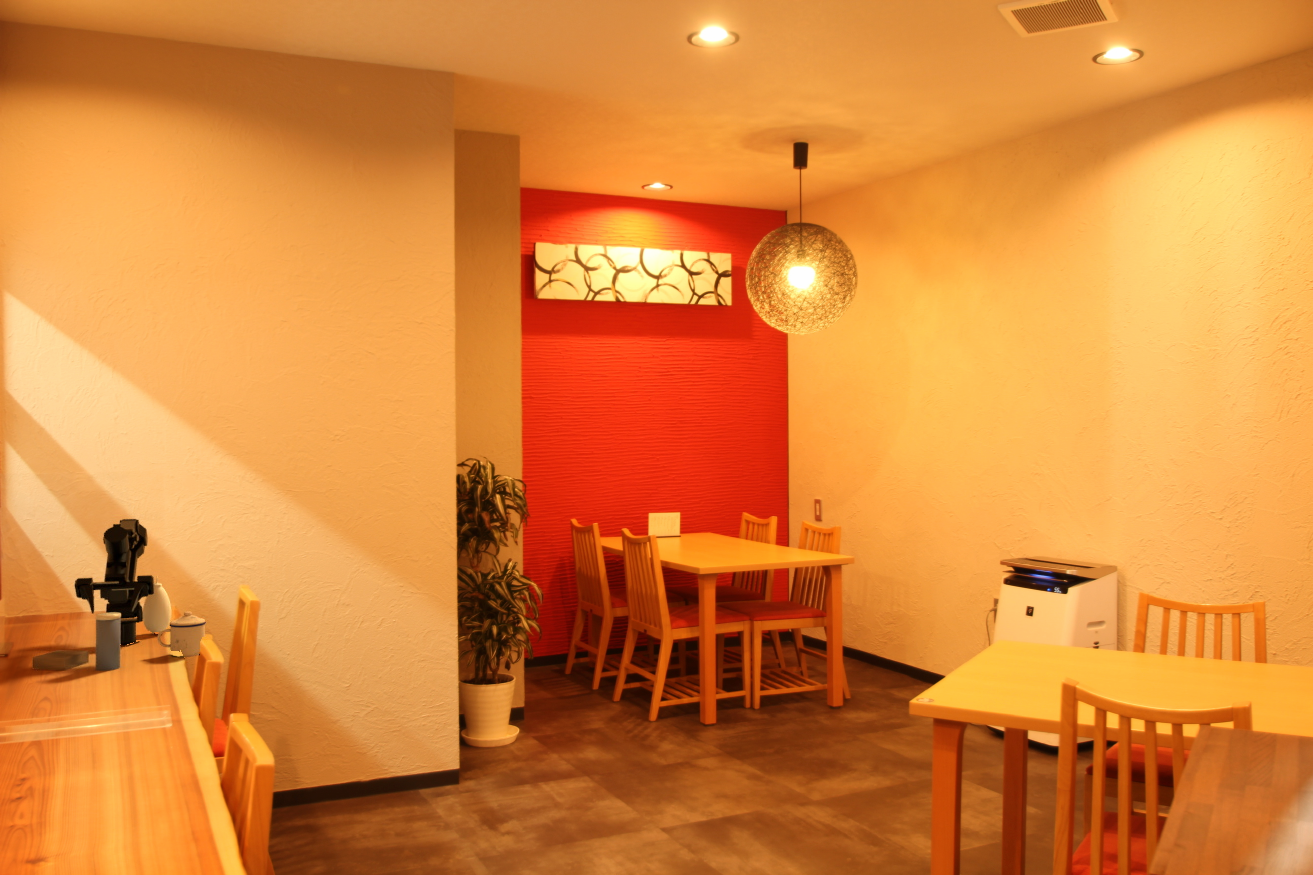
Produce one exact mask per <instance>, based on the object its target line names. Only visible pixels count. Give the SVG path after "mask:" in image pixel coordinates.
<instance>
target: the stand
mask: <svg viewBox="0 0 1313 875" xmlns="http://www.w3.org/2000/svg"><path fill="white" fill-rule="evenodd" d="M89 656H90V651H89V650H66V649H65V650H63V649H61V650H60V649H58V650H54V651H49V652H46V653H43V654H41V655H40V654H39V655H36V656H33V657H32V668H34V669H33V670H46V669H47V670H51V671H53V670H55V671H66V670H70V669H72V668H75V667H79V666H82V665H85V664H89V662H90V659H89V658H90V657H89ZM32 668H31V669H32Z"/></svg>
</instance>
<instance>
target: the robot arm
mask: <svg viewBox="0 0 1313 875" xmlns="http://www.w3.org/2000/svg"><path fill="white" fill-rule="evenodd" d="M148 538H149V537H148V531H147V528H146V527H144V525H142V524H140V519H136V518H122V519H120V520H119V523H113V524H112V527H111V526H110V527H109V528H107V529H106V530H105V532H104V533H103V538H102V540H103V544H104V546H105V551H106V553H107V556H106V557H107V558H106V565H105V571H104V572H105V573H104V580H103V581H94V578H93V577H78V578H76V579H75V581H74V591H75V595H76V596H75V597H76V598H78V599H81V600H86V601H87V603H88V606H89V608H90V612H91V614H95V594H94V593H95V591H99V595H100V599H104V601H107V603H106V608H105V613H110V612H117V613H121V627H120V644H121V645H127V644H130V643H133V642H136V640H137V638H136V637H137V623H139V624H140V623H141V622H143V606H142V605H141V602H140V600H141V599H142V598H146V597H147V596H148V595H152V594H154V584H155V578H154V576H153V575H152V574H147V575H145V574H144V575H137V567H138V559H139V558H140V557H142V555H144V553H145V549H146V547H147V546H148ZM136 576H137V577H136Z"/></svg>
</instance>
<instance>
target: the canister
mask: <svg viewBox="0 0 1313 875" xmlns="http://www.w3.org/2000/svg"><path fill="white" fill-rule="evenodd" d="M94 616H95V671H99V672H102V671H103V672H104V671H105V672H106V671H114V670H118V669H120V668H121V646H120V627H121V613H117V612H110V613H106V612H102V613H97V614H95V615H94Z"/></svg>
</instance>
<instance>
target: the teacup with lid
mask: <svg viewBox="0 0 1313 875" xmlns="http://www.w3.org/2000/svg"><path fill="white" fill-rule="evenodd" d="M206 624H207V623H206V619H204V618H202V617H201V618H200V617H198V616H197V615H193V614H192V611H184V612H183V615H181V616H179V617H178V618H177V619H173V620H170V623H169V626H170V628H167V629H164V630H162V631H160V632H159V634H158V635H157V641H158V643H159V645H160V646H161V647H163V648H170V649H169V650H171V651H179V652H180V650H181V652H182V654H183V656H184V657H183V658H190V657H196V656H200V655H199V652H200V641H201V639H202V637H205V638H206ZM166 632H167V633H170V634H169V636H170V640H169V642H170V644H167V643H166V644H165V643H164V642H163V641H162V640H161V639H162V638H161V635H162V634H164V633H166Z"/></svg>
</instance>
